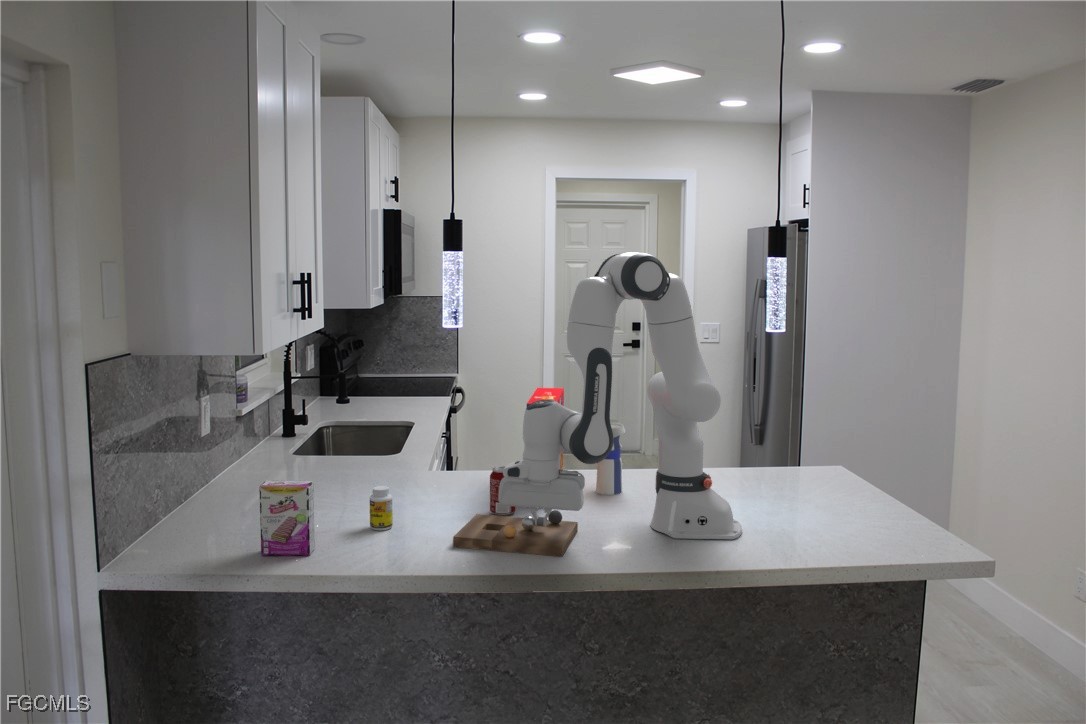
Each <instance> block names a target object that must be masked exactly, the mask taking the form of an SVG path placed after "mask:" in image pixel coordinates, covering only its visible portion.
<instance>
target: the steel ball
mask: <svg viewBox="0 0 1086 724" xmlns="http://www.w3.org/2000/svg"><path fill="white" fill-rule="evenodd" d="M522 518H523V520H522V527H523V528H524V529H525V530H532V529H534V527H535V519H534V518H533V516H532V515H527V516H524V517H522Z"/></svg>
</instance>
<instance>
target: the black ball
mask: <svg viewBox="0 0 1086 724" xmlns="http://www.w3.org/2000/svg"><path fill="white" fill-rule="evenodd" d="M547 520H549V521H550V523H552V524H559V523H560V522H561V521H563V515H562V513H561V512H560V510H557V509H553V510H552V511H551V513H550V514H549V516H548V518H547Z"/></svg>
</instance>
